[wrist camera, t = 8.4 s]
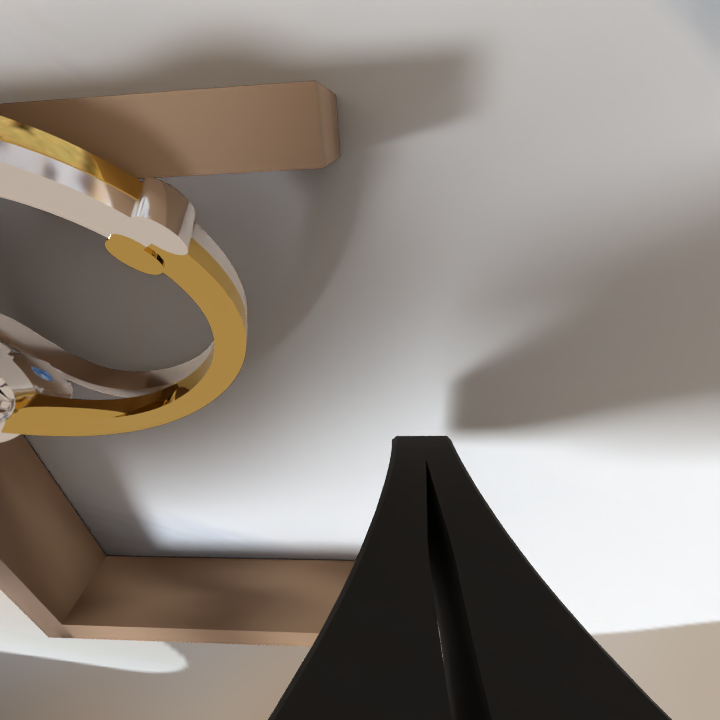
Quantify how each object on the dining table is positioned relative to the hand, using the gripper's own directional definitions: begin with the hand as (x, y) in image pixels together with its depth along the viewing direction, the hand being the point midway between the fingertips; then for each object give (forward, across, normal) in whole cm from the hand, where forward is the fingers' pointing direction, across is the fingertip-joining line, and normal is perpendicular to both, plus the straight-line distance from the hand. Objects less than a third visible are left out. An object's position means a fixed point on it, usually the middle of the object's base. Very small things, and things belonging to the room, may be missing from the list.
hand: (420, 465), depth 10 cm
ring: (-1, +4, -7) cm, 8 cm away
